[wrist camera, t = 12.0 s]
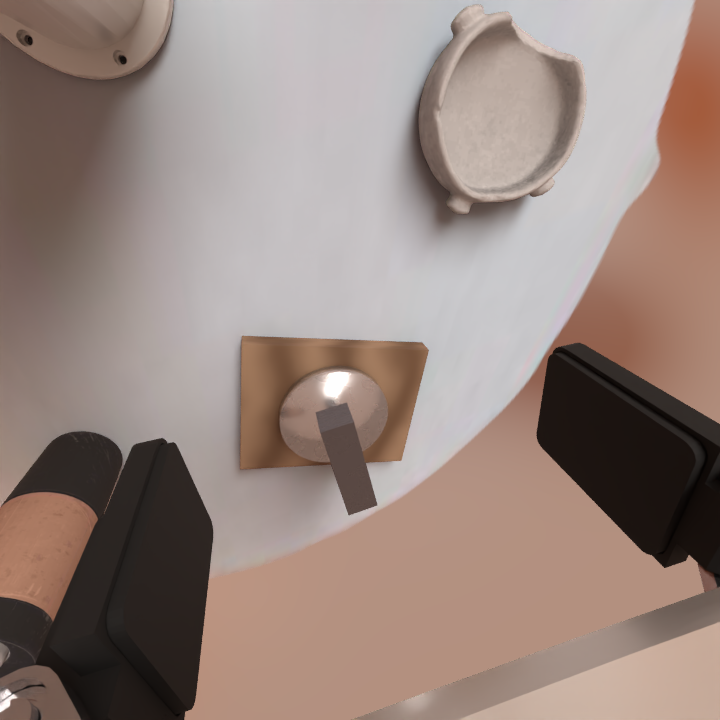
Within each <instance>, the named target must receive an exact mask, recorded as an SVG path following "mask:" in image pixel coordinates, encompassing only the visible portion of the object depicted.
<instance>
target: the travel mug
mask: <svg viewBox="0 0 720 720" xmlns="http://www.w3.org/2000/svg"><path fill="white" fill-rule="evenodd" d="M121 465H122V454H121V451H120V449H119V448H118V446H117V445H116V444H115V443H114V442H112V441H111V440H110V439H108V438H106V437H104V436H102V435H99V434H96V433H91V432H71V433H67V434H64V435H61V436H59V437H58V438H56V439H55V440H53V441H52V442H51V443H50V444H49V445H48V446H47V448H46V449H45V450H44V451H43V453H42V454H41V455H40V457H39V458H38V459H37V460H36V462H35V463H34V464H33V466H32V467H31V468H30V469H29V471H28V472H27V473H26V475H25V476H24V477H23V479H22V480H21V481H20V482H19V484H18V485H17V486H16V488H15V489H14V490H13V492H12V493H11V494H10V495H9V497H8V498H7V499H6V501H5V502H4V503H3V504H2V506H1V507H0V678H2V677H4V676H6V675H8V674H10V673H12V672H14V671H16V670H18V669H20V668H25V667H29V666H34V665H35V663H36V660H37V658H38V656H39V653H40V651H41V649H42V646H43V644H44V642H45V639H46V637H47V635H48V632H49V630H50V628H51V626H52V623H53V621H54V619H55V616H56V614H57V612H58V609H59V607H60V605H61V602H62V600H63V598H64V595H65V593H66V591H67V588H68V586H69V584H70V581H71V579H72V577H73V574H74V572H75V570H76V567H77V565H78V563H79V560H80V558H81V556H82V553H83V551H84V549H85V546H86V544H87V542H88V539H89V537H90V535H91V532H92V530H93V528H94V525H95V524H96V522H97V520H98V519H99V518H100V517H101V516H102V515H103V514H104V511H105V509H106V506H107V503H108V501H109V498H110V495H111V493H112V490H113V487H114V485H115V482H116V479H117V477H118V474H119V471H120V468H121Z"/></svg>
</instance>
